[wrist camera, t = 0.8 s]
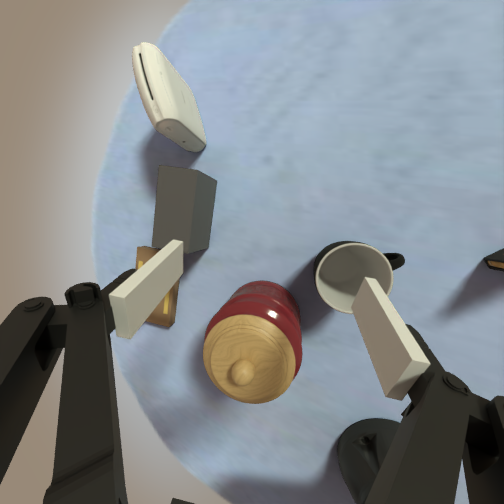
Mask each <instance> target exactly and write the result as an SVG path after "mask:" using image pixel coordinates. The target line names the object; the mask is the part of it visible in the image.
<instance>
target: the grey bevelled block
mask: <svg viewBox="0 0 504 504" xmlns="http://www.w3.org/2000/svg"><path fill="white" fill-rule="evenodd" d="M216 186H217V180H215V179H213V178H211V177H209V176H208V175H206V174H204V173H202V172H200V171H199V170H194V169H186V168H178V167H170V166H163V165H159V171H158V182H157V193H156V205H155V216H154V227H153V238H152V247H157V248H162V249H163V248H164V247H165V246H166V245H167V244H168V243H170V242H171V241H172V240H179V241H183V253H187V254H189V253H192V252H196V251H199V250H203V249H207V248H209V240H210V233H211V225H212V217H213V209H214V202H215V194H216Z"/></svg>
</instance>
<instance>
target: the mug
mask: <svg viewBox="0 0 504 504" xmlns="http://www.w3.org/2000/svg"><path fill="white" fill-rule="evenodd" d="M404 263H405V259H404V257H403V255H401V254H399V253H384V254H382V253H381V252H380V251H379V250H377V249H376V248H374V247H372V246H370V245H367V244H364V243H360V242H354V241H341V242H336V243H333V244H330V245H328V246H327V247H325V248H324V249H323V250H322V251H321V252H320V253H319V254H318V256H317V258H316V260H315V264H314V281H315V285H316V288H317V291H318V293H319V295H320V296H321V298H322V299H323V300H324V302H325V303H327V304H328V305H329V306H330V307H332V308H333V309H335V310H337V311H340V312H343V313H347V314H353V311H352V309H351V306H352V304H353V302H354V299H355V297H356V295H357V293H358V291H359V288H360V286H361V284H362V282H363V280H364V277H368V278H373V279H376V280H377V282H378V283H379V285H380V286H381V288H382V289H383V291H384V292H385V294H386V295H387V297H388V296H389V294H390V292H391V289H392V286H393V270H395V269H397V268H399V267H401V266H403V265H404Z"/></svg>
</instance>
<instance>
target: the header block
mask: <svg viewBox="0 0 504 504" xmlns="http://www.w3.org/2000/svg"><path fill="white" fill-rule="evenodd" d="M160 250H161V249H157V248H152V247H146V246H142V247H137V257H136V269H137V270H138V269H139V268H140V267H142V266H143V265H144V264H145V263H146V262H147V261H149V260H150V259H151V258H152V257H153V256H154V255H156V254H157V253H158V252H159V251H160ZM179 278H180V277H179ZM178 287H179V279H178V280H177V281H176V283H175V284H174V285H173V286H172V288H171V289H170V290H169V291H168V293H167V294H166V295H165V296H164V298H163V299H162V300H161V302H160V303H159V304H158V305H157V307H156V308H155V309H154V310H153V312H152V313H151V314H150V315H149V317H148V318H147V319H146V321H147V322H151V323H155V324H159V325H163V326H167V327H170V326H171V325H172V324H173V323H175V314H176V305H177V296H178Z"/></svg>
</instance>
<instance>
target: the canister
mask: <svg viewBox="0 0 504 504" xmlns="http://www.w3.org/2000/svg"><path fill="white" fill-rule="evenodd" d="M300 323H301V319H300V311H299V308H298V305H297V303H296V301H295V300H294V298H293V297H292V295H291V294H290V293H289V292H288V291H287V290H286V289H285V288H283V287H282V286H280V285H278V284H276V283H273V282H270V281H254V282H250V283H248V284H245V285H243V286H242V287H240V288H239V289H238V290H237V291H236V292H235V293H234V294H233V295H232V296H231V298H230V300H229V301H228V302H226V303H225V304H224V305H223V306H222V308H221V309H220V310H219V312H217V313H216V314H215V315H214V317H213V318H212V319H211V321H210V323H209V324H208V327H207V329H206V333H205V339H204V348H203V360H204V365H205V368H206V371H207V373H208V375H209V377H210V379H211V380H212V382H213V383H214V384H215V385H216V387H217V388H218V389H219V390H221V391H222V392H223V393H224V394H226V395H227V396H229V397H231V398H233V399H235V400H237V401H240V402H244V403H251V404H259V403H265V402H269V401H272V400H274V399H276V398H277V397H279V396H280V395H282V394H283V393H284V392H285V391H286V390H287V388H288V387H289V386H290V384H291V382H292V381H293V379H294V378H295V377H296V375H297V373H298V371H299V369H300V366H301V362H302V345H301V344H302V336H301V330H300Z"/></svg>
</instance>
